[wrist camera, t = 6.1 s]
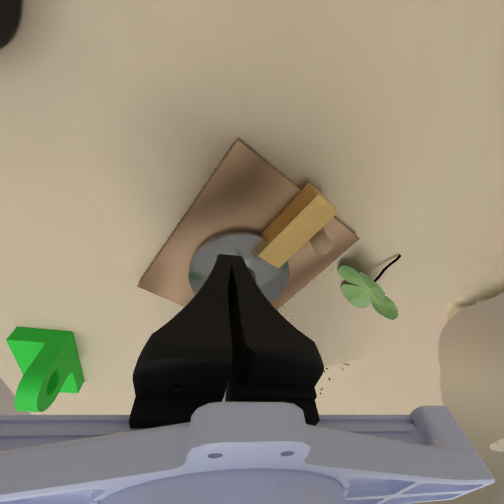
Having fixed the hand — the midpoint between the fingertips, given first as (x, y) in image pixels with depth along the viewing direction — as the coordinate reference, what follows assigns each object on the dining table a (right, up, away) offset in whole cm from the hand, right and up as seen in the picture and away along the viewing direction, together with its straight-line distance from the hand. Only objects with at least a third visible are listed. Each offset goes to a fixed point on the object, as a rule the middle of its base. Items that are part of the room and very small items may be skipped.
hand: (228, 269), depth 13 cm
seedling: (+18, +1, +14) cm, 23 cm away
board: (0, 0, +13) cm, 13 cm away
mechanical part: (-26, -13, +20) cm, 35 cm away
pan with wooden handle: (+2, +1, +11) cm, 11 cm away
